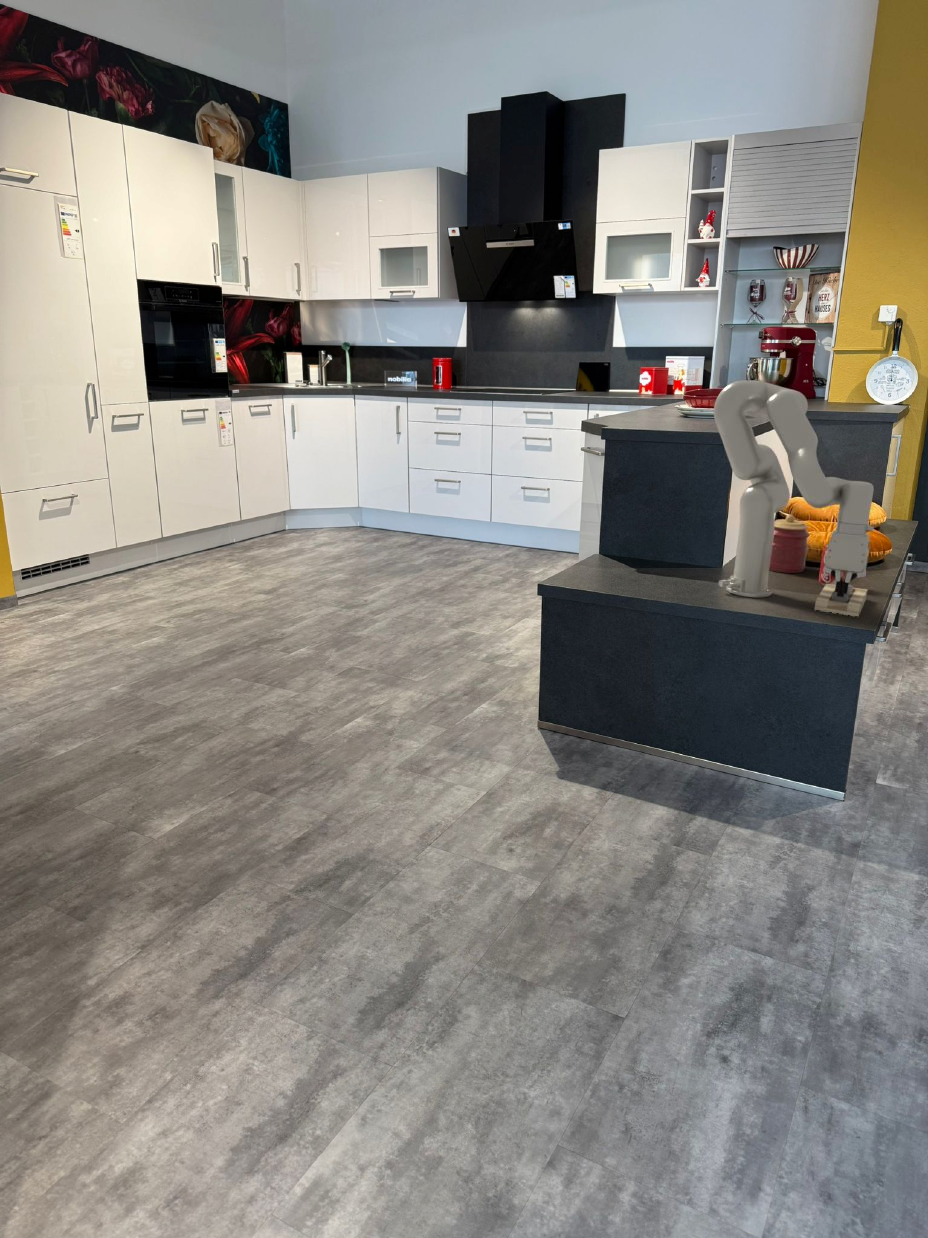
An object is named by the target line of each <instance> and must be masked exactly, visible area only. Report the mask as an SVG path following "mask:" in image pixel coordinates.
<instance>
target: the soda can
mask: <svg viewBox="0 0 928 1238" xmlns="http://www.w3.org/2000/svg"><path fill="white" fill-rule="evenodd" d="M828 546H829V543H828V544H826V546H825V548H824V549H823V551H822V557H821V561H820V567H819V568H820V569H819V574H818V575H819V576H818V577H819V578H818V582H819V584H821V586H823V587H825V585H826V584H832V585H836V582H837V581H836V579H835V578H834V577H833V576H832V574H829V573H827V572H824V571H823V568H824V566H825V560H826V554H827V550H828ZM846 572H847V571H842V581H844V579H845V578H846Z"/></svg>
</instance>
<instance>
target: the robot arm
mask: <svg viewBox="0 0 928 1238" xmlns="http://www.w3.org/2000/svg"><path fill="white" fill-rule="evenodd" d="M808 406H809V405H808V400H807V398H806V396H805V395H804V394H803V393H802V392H800V391H797V390H795V389H790V388H788V387H783V386H780V385H775V384H773V383H769V382H765V381H761V380H750V379H748V380H746V379H745V380H736V381H733V382H731V383H729V384H728V385H726V386H725V387H724V388H722V390H721V391H720V393H719V394H718V396H717V397H716V399H715V401H714V406H713V407H714V408H713V417H714V422H715V425H716V428H717V431H718V434H719V435H720V439H721V440H722V443H723V446H724V450H725V454H726V456H727V459H728V461H729V464H730V467H731V470H732V472H733V474H734V476H735V477H736V478H738V479H739V480H741V481H742V480H743V481H750V483H751V485H750V486H749V485H748V487H746V489H745V490H744V491H743V492H742V493H741V497H740V501H739V526H738V527H739V528H738V535H737V536H738V537H737V545H736V546H737V547H736V554H735V560H734V561H735V562H734V570H733V574H732V575H730V578H729V577H728V578H727V579H720V580H719V581H718V586H719V587H720V588H722V587H725V588H726V591H727V592H728V593H730V594H732V595H736V596H740V597H748V598H767V597H771V595H772V594H773V590H772V588H770V587H768V582H769V576H770V575H769V573H770V570H769V568H770V561H771V554H772V546H773V538H774V522H775V514H776V513H778V512H780V511H783V510H784V509H785V508H786V507H787V505H788V504H789V502H790V489H789V486H788V483H787V481H786V478H785V477H786V476H785V475H784V471H783V470H782V465H781V463H780V461H779V459H778V456H777V454H776V453H775V451H774V450H773V449H772V448H771V447H770V446H768V445H766V444H761V443H758V441H757V439H756V437H755V433H754V430H753V428H752V426H751V424H750V422H749V421H748V419H747V418H746V413H747V412H755V413H758V414H762V415H766V416H767V419H768V420H769V421H770V424H771V425H772V427H773V429H774V431H775V433H776V434H777V436H778V438H779V440H780V442H781V444H782V446H783V448H784V449H785V452H786V454H787V462H788V465H789V469H790V473H791V475H792V478H793V479H792V480H793V481H794V483H795V485H796V487H797V489H798V491H799V492H800V494H801V496H802V498H803V500H804V501H805V502H806V503H807V504H808V505H809V506H810V507H812V508H813V509H824V508H828V507H830V506H835V505H839V508H838V513H837V519H836V526H835V530H833V531H832V533H831V535H830V539H829V542H828V544H829V546H828V550H827V554H826V560H825V566H824V568H823V571H824V572H827V573H829V574H832V576H833V577H834V578H835V579H836V581H837V582H836V588H835V592H837V596H841V597H843V596H844V594H845V593H846V594H847V591H848V585H850V582H852V581H853V580H855V579H856V578H865V577H866V575H867V570H866V569H867V567H868V560H869V552H870V535H869V534H867V533H868V532H869V533H870V532H872V533H873V531H874V526H871V525H869V520H870V513H871V507H872V503H873V497H874V496H873V495H874V485H873V484H872V483H870V482H867V481H861V480H848V479H844V478H840V477H836V476H828V477H827V476H825V473H824V472H823V470H822V468H821V466H820V464H819V461H818V460H819V459H818V457H817V448H818V444H819V443H818V442H819V439H818V436H817V433H816V432H815V429H814V428H813V426H812V424H811V423H810V421H809V419H808V417H807V415H806V413H807V412H808V408H809V407H808ZM842 571H846V572H847V574H846V575H845V578H844V581H842Z"/></svg>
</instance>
